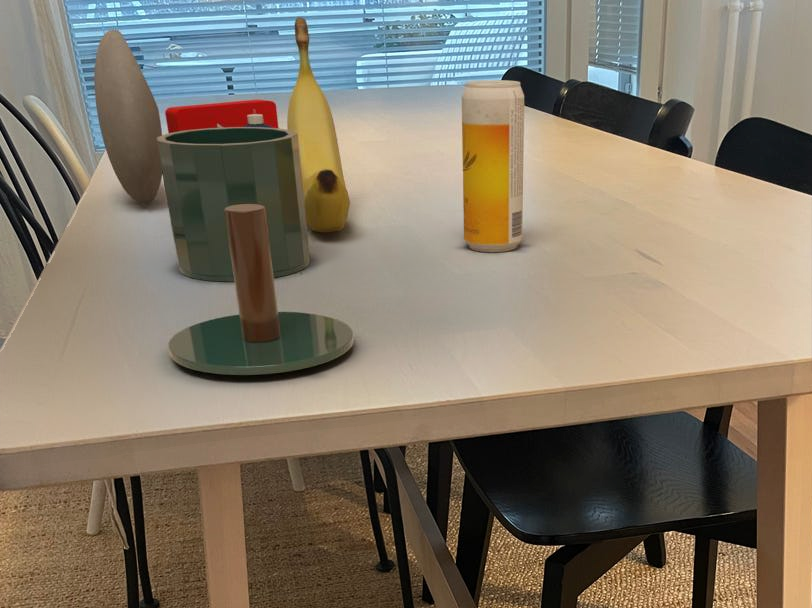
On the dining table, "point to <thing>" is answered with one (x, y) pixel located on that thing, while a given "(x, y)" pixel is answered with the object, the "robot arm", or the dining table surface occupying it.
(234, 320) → the jar lid
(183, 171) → the storage jar
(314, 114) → the banana
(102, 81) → the grey-brown flattened oval
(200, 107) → the play button
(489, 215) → the beer can
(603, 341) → the dining table surface
